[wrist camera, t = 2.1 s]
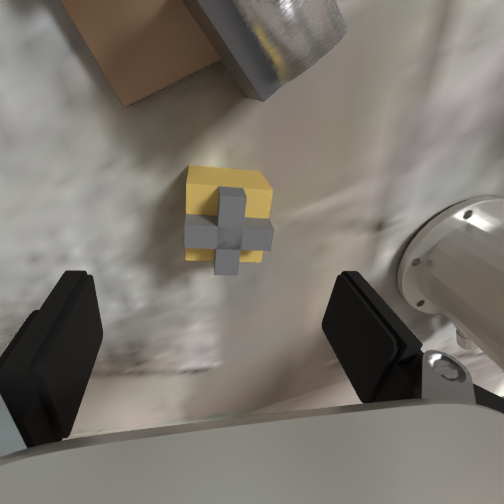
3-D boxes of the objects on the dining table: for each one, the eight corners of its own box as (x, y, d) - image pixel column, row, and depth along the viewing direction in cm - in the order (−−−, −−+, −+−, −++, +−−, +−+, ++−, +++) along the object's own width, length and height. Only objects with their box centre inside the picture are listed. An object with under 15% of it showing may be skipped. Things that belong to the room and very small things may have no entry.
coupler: (260, 171, 20) (279, 199, 15) (251, 233, 23) (265, 275, 18) (189, 164, 19) (184, 192, 14) (187, 230, 22) (183, 274, 17)
